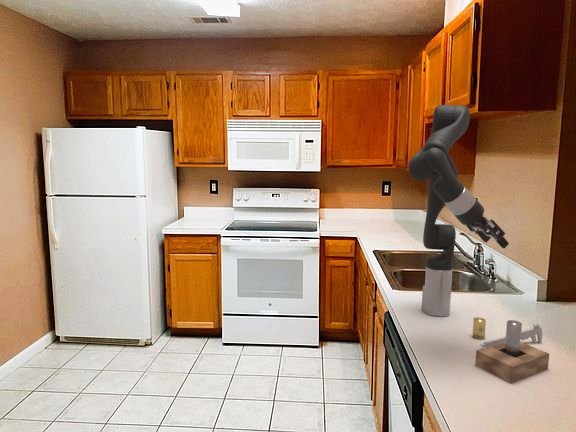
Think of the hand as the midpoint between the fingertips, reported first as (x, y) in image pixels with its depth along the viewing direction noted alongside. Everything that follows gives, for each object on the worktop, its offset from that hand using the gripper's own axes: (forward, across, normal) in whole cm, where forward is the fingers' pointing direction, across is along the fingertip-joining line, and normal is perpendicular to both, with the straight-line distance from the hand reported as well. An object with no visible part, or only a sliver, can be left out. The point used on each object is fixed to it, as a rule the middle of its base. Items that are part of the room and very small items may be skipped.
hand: (496, 243), depth 128 cm
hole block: (+22, -12, +24) cm, 35 cm away
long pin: (+22, -12, +24) cm, 35 cm away
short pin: (+24, +7, +22) cm, 33 cm away
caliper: (+30, +1, +17) cm, 34 cm away
